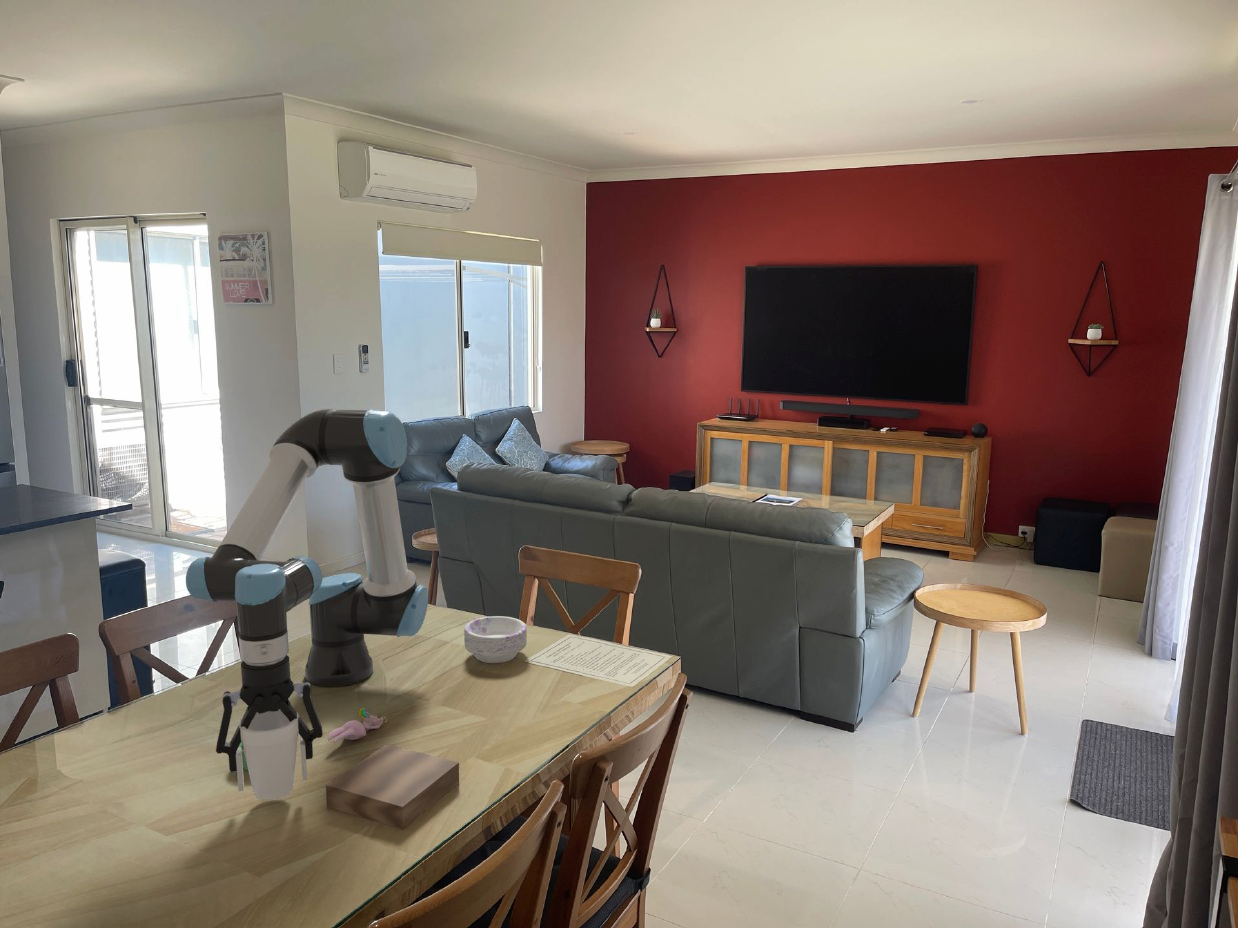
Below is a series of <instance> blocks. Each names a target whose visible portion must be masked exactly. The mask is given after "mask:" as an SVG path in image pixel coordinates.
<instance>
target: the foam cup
mask: <svg viewBox="0 0 1238 928" xmlns="http://www.w3.org/2000/svg"><path fill="white" fill-rule="evenodd" d="M299 716H300V713H298V712H297V719H294V720H293V721H292V722H290V721H289V720H288V718H287V717H286V716H285V715H284V714H283V713H282V712H281V710H280V709H279V710H278V711H275V712H272V711H268V712H265V713H261V714H258V713H256V715H255V717H254V719H253V720H252V721H251V723H250V725H249V727H248V729H246V728H245V727H240V726H241V720H242V718H241V719H240V721H239V723H238V726H239V728H240V733H241V741H242V745H243V749H244V754H245V758H246V762H247V767H248V771H247V772H248V776H249V779H250V784H251V787H252V792H253V795H254V796H255V798H256V799H258V800H261V801H273V800H279V799H282V798H284V797H286V796H287V795H290V793H292V792H293V789H294V783H295V773H296V760H297V759H296V758H297V750H298V749H297V747H298V737H299V733H298V732H299V730H298V718H299Z"/></svg>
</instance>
